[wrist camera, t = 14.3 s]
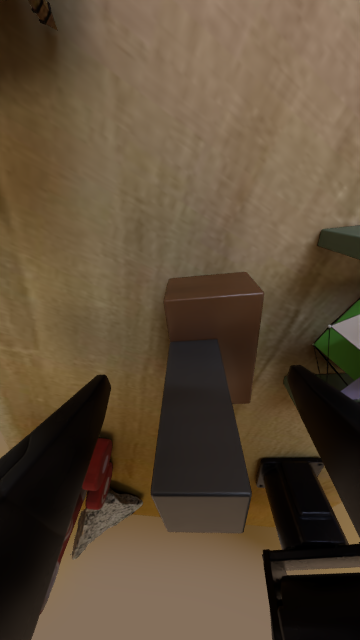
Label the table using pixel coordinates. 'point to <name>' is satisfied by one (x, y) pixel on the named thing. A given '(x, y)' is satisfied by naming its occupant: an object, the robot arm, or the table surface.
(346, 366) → the geometric puzzle
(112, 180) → the table surface
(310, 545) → the robot arm
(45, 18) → the game die
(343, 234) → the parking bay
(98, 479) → the toy fire truck
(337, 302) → the table surface
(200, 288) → the walnut pusher
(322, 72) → the table surface
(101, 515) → the rock sample
